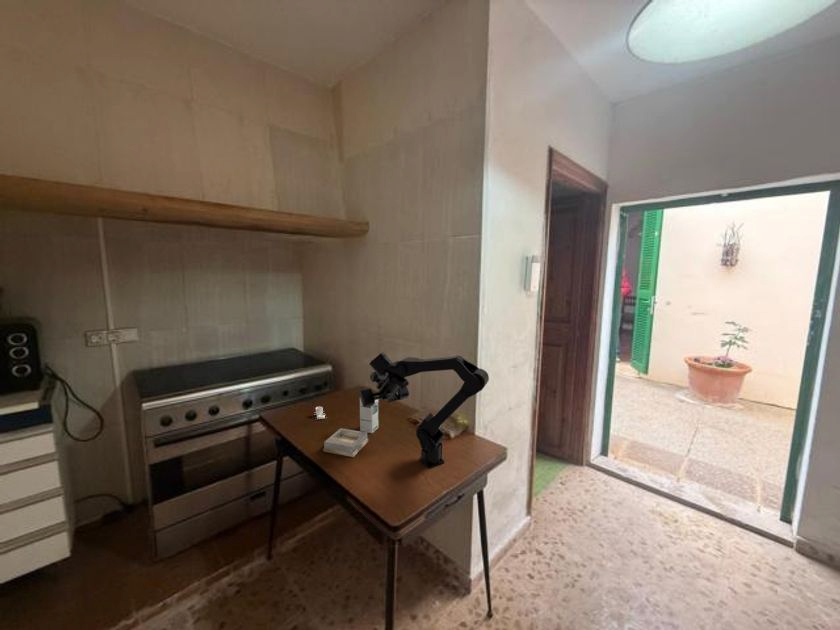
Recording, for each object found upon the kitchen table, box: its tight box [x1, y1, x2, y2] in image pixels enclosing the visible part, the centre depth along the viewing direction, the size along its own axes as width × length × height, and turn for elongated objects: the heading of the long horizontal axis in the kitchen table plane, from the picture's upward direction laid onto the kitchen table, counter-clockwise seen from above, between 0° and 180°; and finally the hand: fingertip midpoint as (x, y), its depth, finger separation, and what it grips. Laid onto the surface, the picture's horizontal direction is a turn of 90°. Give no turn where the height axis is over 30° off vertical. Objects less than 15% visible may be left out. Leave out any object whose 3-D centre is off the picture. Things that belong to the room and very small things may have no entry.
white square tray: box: [322, 427, 369, 458], centre depth 122 cm, size 12×12×4 cm
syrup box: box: [359, 398, 380, 434], centre depth 135 cm, size 6×6×14 cm
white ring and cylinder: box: [315, 406, 326, 420], centre depth 148 cm, size 9×8×4 cm
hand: (377, 403), depth 128 cm, fingers open, 9 cm apart
